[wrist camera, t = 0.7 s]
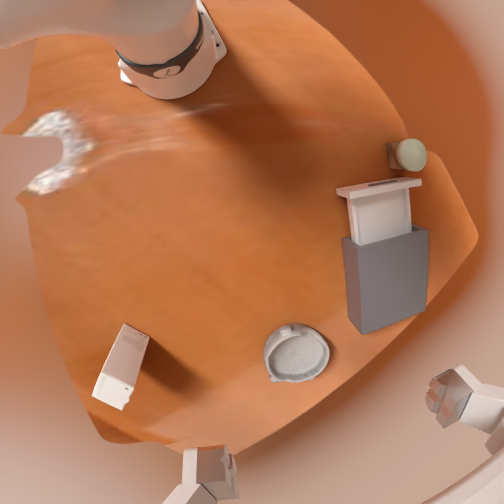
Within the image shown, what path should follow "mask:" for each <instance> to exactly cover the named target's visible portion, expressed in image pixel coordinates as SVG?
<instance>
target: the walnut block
mask: <svg viewBox="0 0 504 504" xmlns="http://www.w3.org/2000/svg"><path fill="white" fill-rule="evenodd" d="M399 143H400V142H393V143H386V149H387V156H388V162H389V168H390V169H400V170H401V169H403V168H402V167H401V166H400V164H399V162H398V160H397V155H396V152H397V147H398V145H399Z"/></svg>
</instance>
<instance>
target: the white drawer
mask: <svg viewBox="0 0 504 504" xmlns="http://www.w3.org/2000/svg"><path fill="white" fill-rule="evenodd" d="M416 186H422V181H421V179H418V178H411V177H398V178H392V179H386V180H380V181H374V182H368V183H363V184H357V185H352V186H347V187H341V188H336V192H337V195H339V196H342V197H345V198H347V205H348V213H349V221H350V229H351V238H352V241H353V242H355V243H356V244H358V245H359V246H362V245H366V244H369V243H373V242H377V241H381V240H384V239H388V238H392V237H395V236H399V235H403V234H406V233H410V232H412V227H411V210H410V197H409V188H411V187H416Z"/></svg>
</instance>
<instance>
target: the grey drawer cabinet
mask: <svg viewBox="0 0 504 504" xmlns="http://www.w3.org/2000/svg"><path fill="white" fill-rule="evenodd" d="M411 227H412V232H410V233H406V234H403V235H399V236H395V237H392V238H388V239H384V240H381V241H377V242H373V243H369V244H366V245H362V246H359V245H358V244H356V243H355V242H353V241H352V238H351V236H349V237H345V238H341V239H342V248H343V257H344V267H345V278H346V290H347V304H348V318H349V319H350V321H351V322H352V323H353V325H354V326H355V327H356V328H357V330H358V331H359V332H360V334H361V335H364V334H366V333H369V332H372V331H375V330H378V329H380V328H383V327H386V326H388V325H391V324H393V323H396V322H399V321H401V320H404V319H406V318H409V317H411V316H414V315H416V314H418V313H421V312H423V311H425V308H426V297H427V282H428V253H429V236H428V229H426V228H423V227H421V226H418V225H416V224H413V223H411Z"/></svg>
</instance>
